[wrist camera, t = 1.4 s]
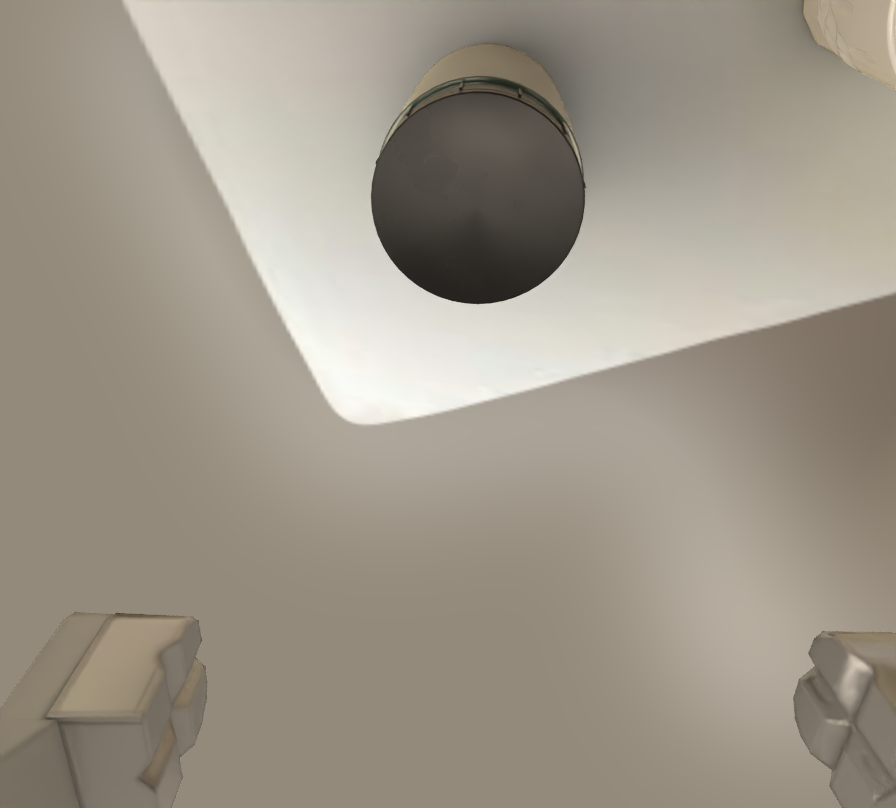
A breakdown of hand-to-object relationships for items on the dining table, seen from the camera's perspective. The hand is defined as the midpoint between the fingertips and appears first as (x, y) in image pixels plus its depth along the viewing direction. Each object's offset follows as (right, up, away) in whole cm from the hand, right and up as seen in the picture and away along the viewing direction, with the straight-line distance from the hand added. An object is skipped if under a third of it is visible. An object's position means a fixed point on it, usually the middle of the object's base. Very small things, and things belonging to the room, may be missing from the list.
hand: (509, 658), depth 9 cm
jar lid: (0, +11, +17) cm, 20 cm away
